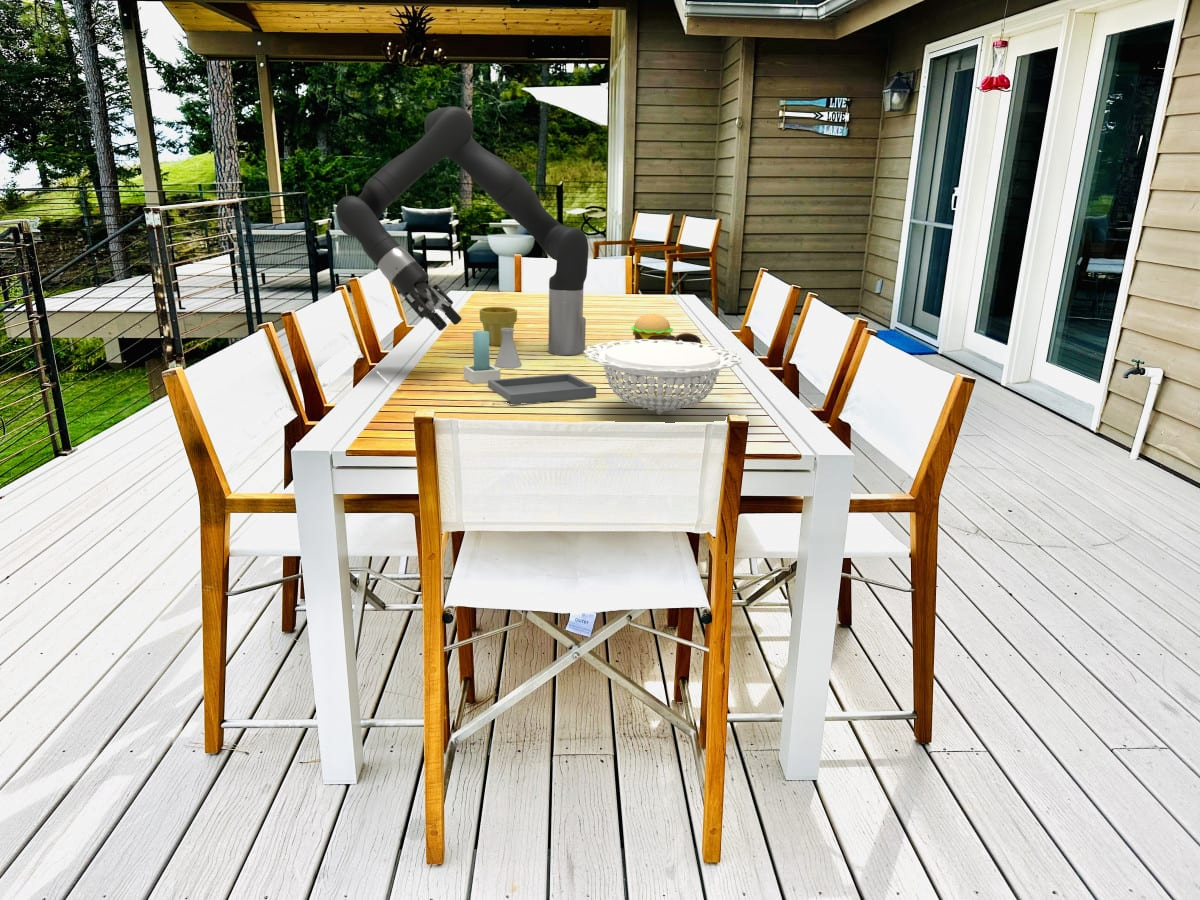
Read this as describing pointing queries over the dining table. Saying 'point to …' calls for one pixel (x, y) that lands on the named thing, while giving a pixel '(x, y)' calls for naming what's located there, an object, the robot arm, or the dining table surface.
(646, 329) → the hamburger
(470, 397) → the dining table surface
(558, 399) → the tray
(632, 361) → the colander
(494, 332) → the plant pot
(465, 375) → the tray
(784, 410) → the dining table surface
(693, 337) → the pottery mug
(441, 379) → the dining table surface
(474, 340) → the dowel
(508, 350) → the flask
